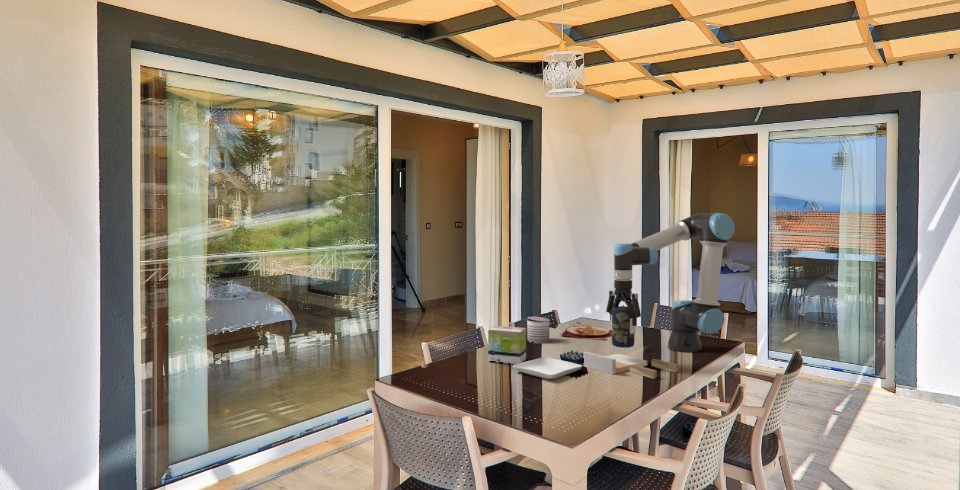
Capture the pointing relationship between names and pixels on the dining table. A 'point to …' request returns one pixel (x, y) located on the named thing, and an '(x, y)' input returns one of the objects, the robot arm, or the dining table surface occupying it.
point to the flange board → (611, 362)
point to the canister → (621, 327)
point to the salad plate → (547, 367)
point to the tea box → (507, 344)
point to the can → (538, 329)
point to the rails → (653, 373)
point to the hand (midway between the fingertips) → (623, 331)
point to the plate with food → (587, 332)
